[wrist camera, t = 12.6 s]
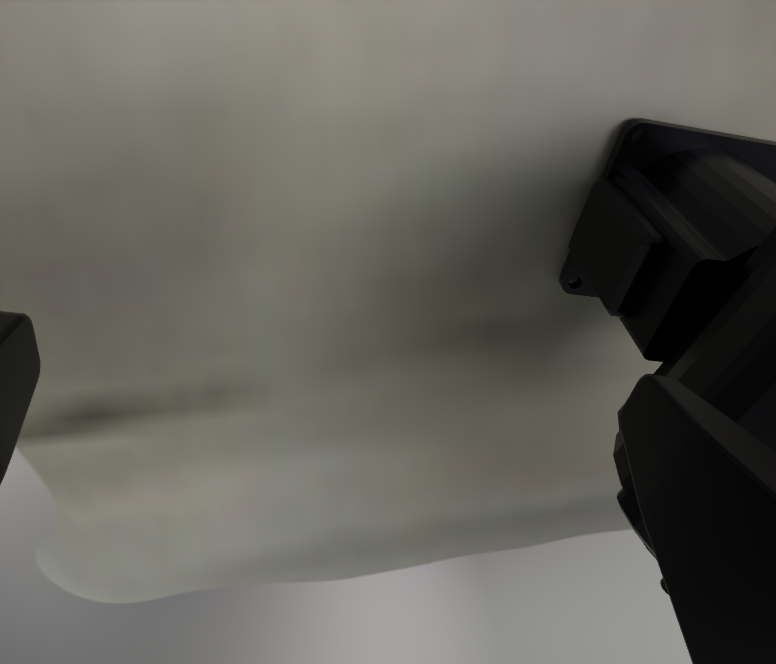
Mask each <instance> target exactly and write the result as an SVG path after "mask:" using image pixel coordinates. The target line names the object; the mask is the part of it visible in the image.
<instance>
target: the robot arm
mask: <svg viewBox="0 0 776 664" xmlns="http://www.w3.org/2000/svg"><path fill="white" fill-rule="evenodd" d="M641 130H643V133H642V136H641V137H640V139H638V140H637V141H633V142H632V137H633V135H634V134H635V133H636V132H638V131H641ZM568 247H569V249H570V252H569V255H568V257H567V259H566V262H565V264H564V266H563V269H562V271H561V274H560V276H559V282H560V285H561V287H562V289H563V290H564V291H565V292H566V293H569V294H574V295H583V296H591V297H599V298H600V300H601V301H602V303H603V305H604V306H605V308H606V310H607V311H608V313H609V314H610V315H611V316H616V317H619V318H620V320H621V322H622V323H623V325H624V326H625V328H626V330H627V331H628V333H629V334H630V336H631V338H632V339H633V341H634V342H635V344H636V345H637V347H638V349H639V350H640V352H641V353H642V355H643V357H644V358H645V359H646V360H649V361H659V362H663V363H662V364H661V366H660V367H659V368H658V369H657V370H656V372H655V373H654V374H646V375H644V376H642V377H641V378H640V379H639V381H638V382H637V384H636V386H635V387H634V389H633V391H632V392H631V394H630V396H629V398H628V399H627V401H626V403H625V404H624V405H623V406H622V407H621V409H620V410H619V411H618V421H619V432H618V433H617V434H616V440H615V447H614V453H613V456H614V460H615V464H616V467H617V471H618V475H619V479H620V482H621V485H622V487H623V488H622V489H621V490H620V491H619V492H618V495H617V499H618V502H619V505H620V508H621V510H622V511H623V513H624V515H625V516H626V518H627V520H628V521H629V523H630V525H631V526H632V528H633V530H634V531H635V533H636V534H637V535H638V536H639V538H640V539H641V540H642V542H643V543H644V545H645V546H646V548H647V549H648V550H649V551H650V553H651V554H652V555H653V556H654V557H655V558H656V560H657V561H658V564H659V567H660V570H661V573H662V576H663V578H662V580H661V586H662V588H663V590H664V591H665V592H666V593H667V594H668V595H669V596H670V599H671V602H672V605H673V608H674V611H675V614H676V617H677V620H678V623H679V625H680V628H681V631H682V634H683V637H684V640H685V643H686V646H687V649H688V651H689V654H690V657H691V660H692V663H693V664H776V142H772V141H766V140H761V139H755V138H749V137H744V136H738V135H732V134H727V133H721V132H715V131H710V130H704V129H699V128H693V127H687V126H682V125H676V124H670V123H665V122H659V121H653V120H648V119H642V118H638V119H633V120H631V121H629V122H628V123H627V124H625V125H624V127H623V128H622V130H621V131H620V134H619V136H618V138H617V141H616V143H615V146H614V148H613V150H612V153H611V155H610V157H609V160H608V162H607V165H606V167H605V169H604V172H603V174H602V176H601V179H599V180H598V181H597V182H596V183H594V185H593V187H592V189H591V192H590V194H589V197H588V199H587V201H586V204H585V206H584V209H583V211H582V213H581V216H580V218H579V221H578V223H577V225H576V228H575V230H574V233H573V235H572V237H571V240H570V242H569V245H568ZM574 277H579V278H578V279H577V280H576V281H575V282H573V283H569V281H570V280H571V279H573V278H574ZM39 374H40V357H39V352H38V347H37V343H36V338H35V333H34V329H33V324H32V321H31V319H30V318H29V316H27V315H26V314H23V313H14V312H4V311H0V484H1V482H2V480H3V478H4V476H5V473H6V471H7V468H8V465H9V463H10V460H11V457H12V454H13V451H14V448H15V445H16V443H17V440H18V437H19V434H20V431H21V428H22V425H23V422H24V419H25V416H26V413H27V410H28V408H29V405H30V402H31V399H32V396H33V393H34V390H35V387H36V384H37V381H38V378H39Z"/></svg>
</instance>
